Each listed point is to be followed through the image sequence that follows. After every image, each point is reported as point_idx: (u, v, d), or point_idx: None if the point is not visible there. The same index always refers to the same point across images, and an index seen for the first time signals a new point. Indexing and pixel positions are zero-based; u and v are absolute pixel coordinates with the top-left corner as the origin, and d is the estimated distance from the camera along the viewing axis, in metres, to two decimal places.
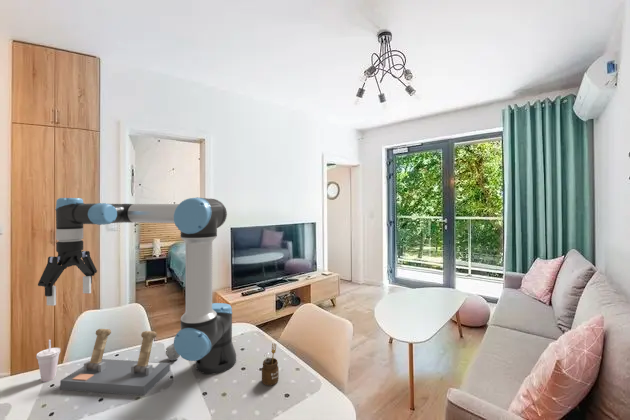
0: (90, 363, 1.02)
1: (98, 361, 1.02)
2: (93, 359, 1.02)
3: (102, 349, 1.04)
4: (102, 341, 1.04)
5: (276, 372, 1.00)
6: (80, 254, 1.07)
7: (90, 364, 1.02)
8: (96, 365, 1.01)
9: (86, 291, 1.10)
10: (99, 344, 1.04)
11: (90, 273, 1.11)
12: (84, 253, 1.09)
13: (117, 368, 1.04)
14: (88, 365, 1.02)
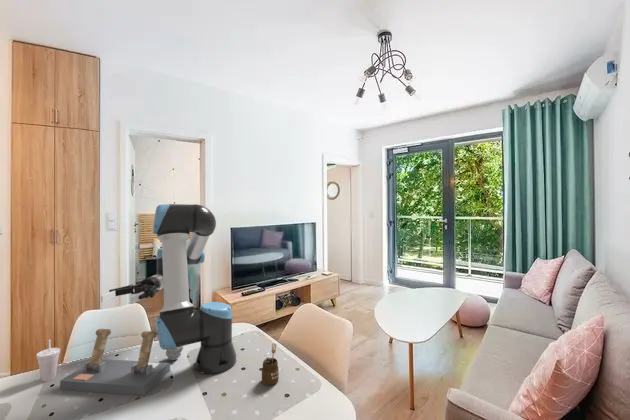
0: (90, 363, 1.02)
1: (98, 361, 1.02)
2: (93, 359, 1.02)
3: (102, 349, 1.04)
4: (102, 341, 1.04)
5: (276, 372, 1.00)
6: (150, 285, 1.28)
7: (90, 364, 1.02)
8: (96, 365, 1.01)
9: None
10: (99, 344, 1.04)
11: None
12: None
13: (117, 368, 1.04)
14: (88, 365, 1.02)
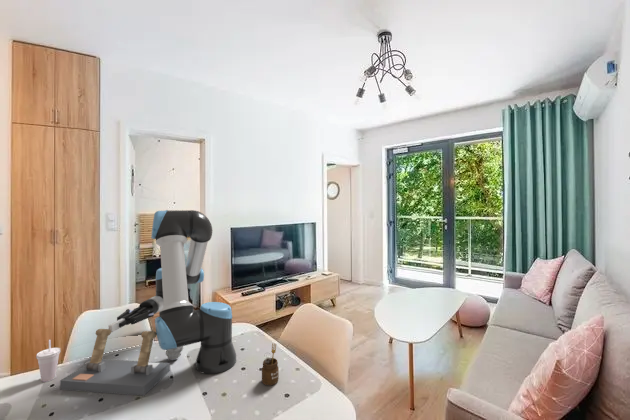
0: (90, 363, 1.02)
1: (98, 361, 1.02)
2: (93, 359, 1.02)
3: (102, 349, 1.04)
4: (102, 341, 1.04)
5: (276, 372, 1.00)
6: (149, 309, 1.27)
7: (90, 364, 1.02)
8: (96, 365, 1.01)
9: None
10: (99, 344, 1.04)
11: None
12: None
13: (117, 368, 1.04)
14: (88, 365, 1.02)
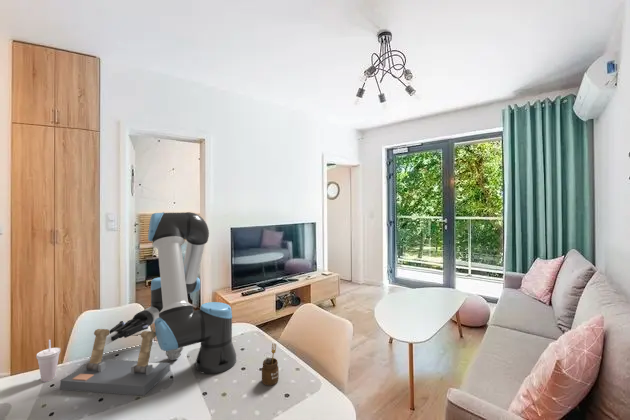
0: (90, 363, 1.02)
1: (98, 361, 1.02)
2: (93, 359, 1.02)
3: (101, 349, 1.03)
4: (101, 342, 1.04)
5: (276, 372, 1.00)
6: (143, 320, 1.23)
7: (90, 364, 1.02)
8: (96, 365, 1.01)
9: None
10: (98, 344, 1.04)
11: None
12: None
13: (117, 368, 1.04)
14: (88, 365, 1.02)
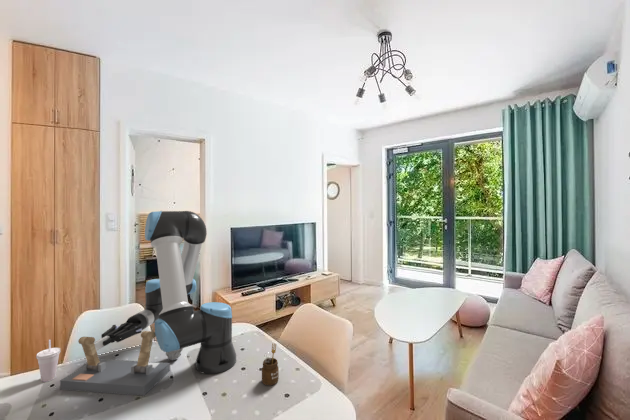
0: (89, 366, 1.01)
1: (96, 363, 1.01)
2: (90, 362, 1.01)
3: (93, 354, 1.00)
4: (90, 349, 0.99)
5: (276, 372, 1.00)
6: (137, 324, 1.20)
7: (89, 366, 1.01)
8: (95, 367, 1.01)
9: None
10: (88, 351, 1.00)
11: None
12: None
13: (117, 368, 1.04)
14: (88, 367, 1.01)
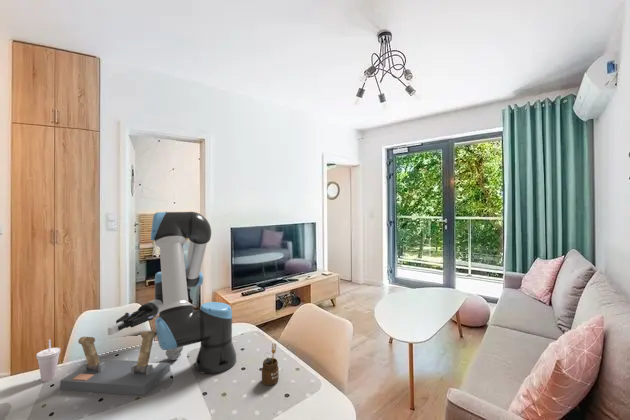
0: (89, 366, 1.01)
1: (96, 363, 1.01)
2: (90, 362, 1.01)
3: (93, 354, 1.00)
4: (90, 349, 0.99)
5: (276, 372, 1.00)
6: (148, 312, 1.27)
7: (89, 366, 1.01)
8: (95, 367, 1.01)
9: None
10: (88, 351, 1.00)
11: None
12: None
13: (117, 368, 1.04)
14: (88, 367, 1.01)
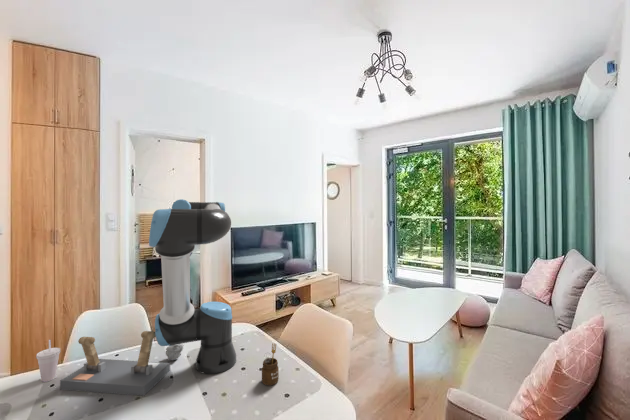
0: (89, 366, 1.01)
1: (96, 363, 1.01)
2: (90, 362, 1.01)
3: (93, 354, 1.00)
4: (90, 349, 0.99)
5: (276, 372, 1.00)
6: None
7: (89, 366, 1.01)
8: (95, 367, 1.01)
9: None
10: (88, 351, 1.00)
11: None
12: None
13: (117, 368, 1.04)
14: (88, 367, 1.01)
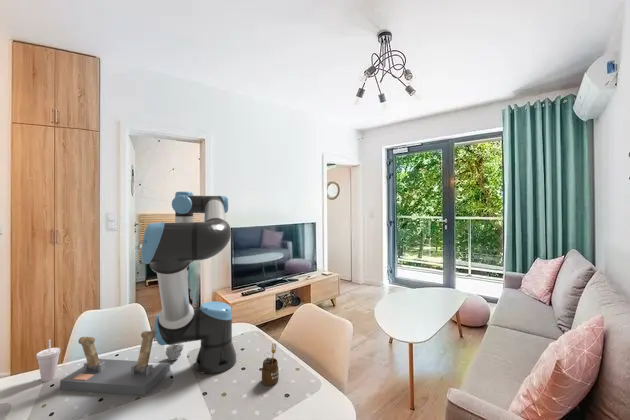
0: (89, 366, 1.01)
1: (96, 363, 1.01)
2: (90, 362, 1.01)
3: (93, 354, 1.00)
4: (90, 349, 0.99)
5: (276, 372, 1.00)
6: None
7: (89, 366, 1.01)
8: (95, 367, 1.01)
9: None
10: (88, 351, 1.00)
11: None
12: None
13: (117, 368, 1.04)
14: (88, 367, 1.01)
